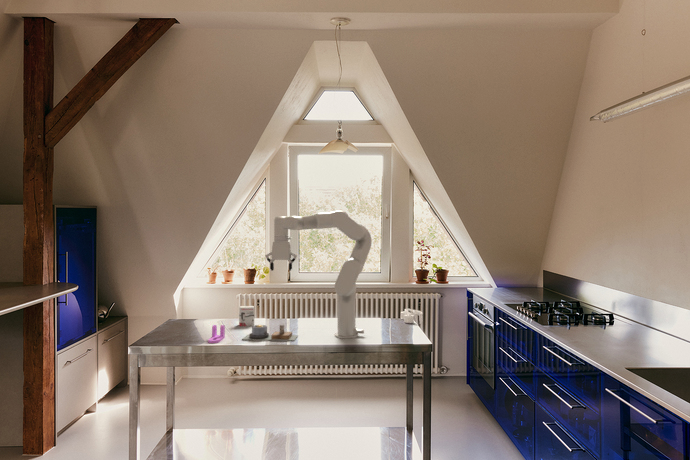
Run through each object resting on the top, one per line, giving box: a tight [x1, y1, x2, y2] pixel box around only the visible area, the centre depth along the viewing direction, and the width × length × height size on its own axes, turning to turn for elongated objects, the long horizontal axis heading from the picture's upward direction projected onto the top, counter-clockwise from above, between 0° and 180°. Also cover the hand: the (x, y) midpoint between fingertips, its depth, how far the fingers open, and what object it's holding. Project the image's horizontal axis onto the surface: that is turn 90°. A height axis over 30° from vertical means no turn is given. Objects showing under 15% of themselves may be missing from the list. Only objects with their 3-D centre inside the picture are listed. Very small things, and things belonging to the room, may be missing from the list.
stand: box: [270, 324, 293, 339], centre depth 243 cm, size 9×9×6 cm
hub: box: [248, 324, 270, 339], centre depth 244 cm, size 10×10×6 cm
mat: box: [241, 334, 299, 342], centre depth 243 cm, size 27×11×1 cm, turn 86°
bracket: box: [207, 324, 226, 344], centre depth 239 cm, size 13×6×7 cm, turn 1°
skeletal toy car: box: [400, 308, 424, 325], centre depth 287 cm, size 20×11×7 cm, turn 5°
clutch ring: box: [251, 324, 268, 336], centre depth 244 cm, size 7×7×4 cm
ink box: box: [238, 305, 255, 327], centre depth 275 cm, size 9×5×12 cm, turn 105°
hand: (281, 270), depth 255 cm, fingers open, 9 cm apart
